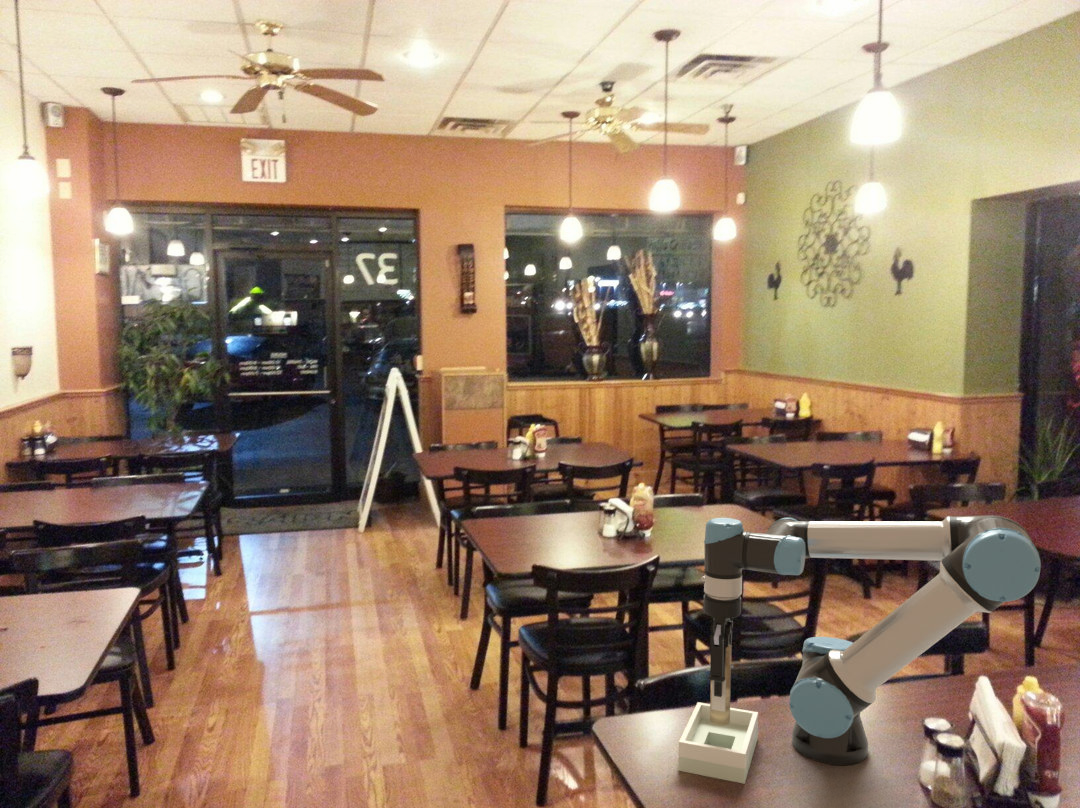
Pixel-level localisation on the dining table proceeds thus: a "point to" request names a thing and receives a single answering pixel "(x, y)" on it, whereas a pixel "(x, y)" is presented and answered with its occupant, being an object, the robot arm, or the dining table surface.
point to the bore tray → (719, 744)
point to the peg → (721, 716)
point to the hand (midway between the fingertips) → (720, 704)
